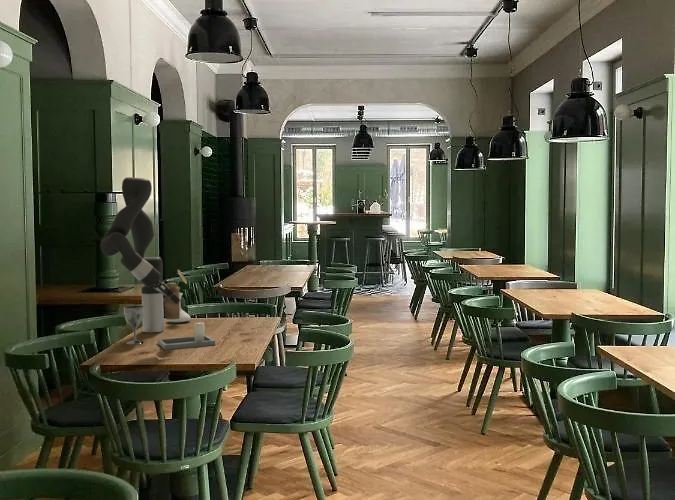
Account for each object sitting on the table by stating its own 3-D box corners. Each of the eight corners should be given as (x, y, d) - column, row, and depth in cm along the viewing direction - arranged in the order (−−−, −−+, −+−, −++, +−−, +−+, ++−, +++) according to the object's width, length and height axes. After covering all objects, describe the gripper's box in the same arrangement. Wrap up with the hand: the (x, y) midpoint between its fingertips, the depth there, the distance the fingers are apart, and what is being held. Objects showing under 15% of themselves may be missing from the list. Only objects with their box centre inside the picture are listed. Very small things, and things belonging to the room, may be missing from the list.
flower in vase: (188, 323, 352) (186, 271, 350) (164, 324, 352) (162, 271, 350) (193, 319, 365) (192, 268, 363) (170, 319, 365) (168, 268, 363)
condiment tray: (157, 345, 300) (157, 339, 300) (206, 340, 308) (206, 334, 308) (164, 351, 287) (164, 345, 287) (215, 346, 295) (215, 340, 295)
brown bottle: (164, 317, 296) (163, 282, 295) (178, 316, 298) (177, 282, 297) (167, 319, 291) (166, 284, 290) (181, 318, 293) (180, 283, 292)
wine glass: (127, 345, 302) (126, 308, 300) (123, 342, 309) (122, 306, 308) (147, 343, 305) (145, 306, 304) (142, 340, 312) (141, 304, 311)
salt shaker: (193, 342, 301) (193, 322, 300) (203, 341, 302) (202, 322, 302) (196, 344, 297) (195, 324, 297) (205, 343, 299) (205, 323, 298)
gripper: (155, 267, 284) (187, 296, 289) (148, 264, 297) (179, 292, 302) (141, 281, 282) (174, 310, 288) (135, 278, 295) (166, 306, 301)
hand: (176, 301), depth 295 cm, fingers closed on brown bottle, 5 cm apart
